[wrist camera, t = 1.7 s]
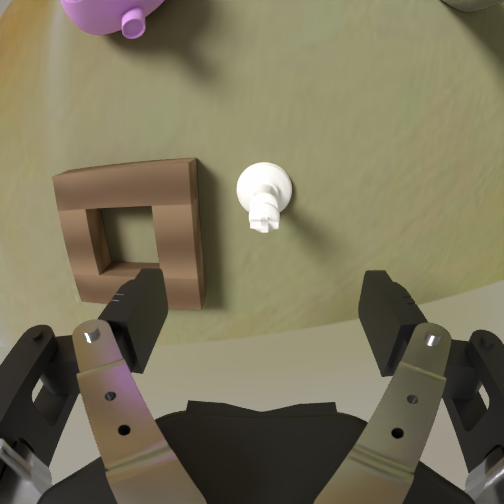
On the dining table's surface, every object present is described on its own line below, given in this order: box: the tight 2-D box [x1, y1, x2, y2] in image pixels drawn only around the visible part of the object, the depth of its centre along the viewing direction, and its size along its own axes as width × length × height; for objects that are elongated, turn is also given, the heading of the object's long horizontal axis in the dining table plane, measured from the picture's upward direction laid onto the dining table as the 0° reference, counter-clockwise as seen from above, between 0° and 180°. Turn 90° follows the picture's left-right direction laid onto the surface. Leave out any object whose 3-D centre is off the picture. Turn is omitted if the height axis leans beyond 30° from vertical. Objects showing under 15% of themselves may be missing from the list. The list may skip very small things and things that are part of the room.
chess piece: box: [237, 162, 292, 233], centre depth 22 cm, size 5×5×10 cm
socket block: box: [53, 158, 206, 310], centre depth 28 cm, size 14×14×3 cm
